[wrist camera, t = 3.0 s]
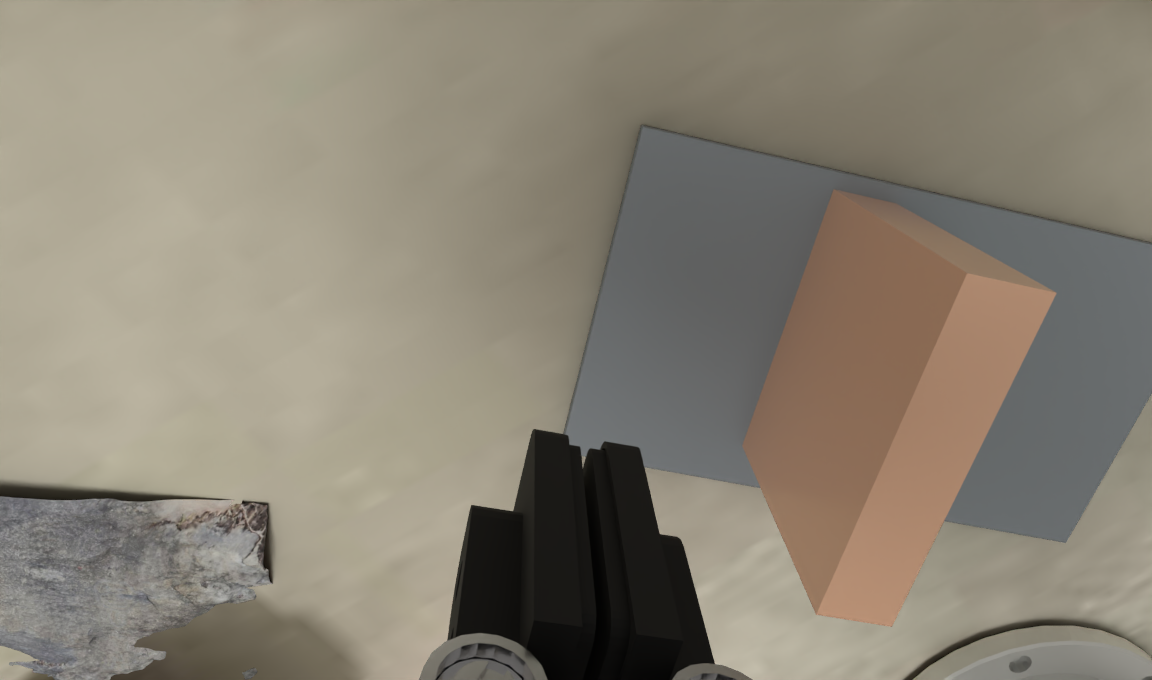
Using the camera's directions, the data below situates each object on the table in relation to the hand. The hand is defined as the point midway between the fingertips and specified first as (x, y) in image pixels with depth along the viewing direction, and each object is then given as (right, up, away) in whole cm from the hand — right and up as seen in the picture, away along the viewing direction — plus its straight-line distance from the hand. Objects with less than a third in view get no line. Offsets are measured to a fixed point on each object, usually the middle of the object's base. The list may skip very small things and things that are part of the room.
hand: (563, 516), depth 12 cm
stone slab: (-20, -6, +17) cm, 27 cm away
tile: (+8, +3, +13) cm, 15 cm away
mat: (+10, +2, +14) cm, 17 cm away
